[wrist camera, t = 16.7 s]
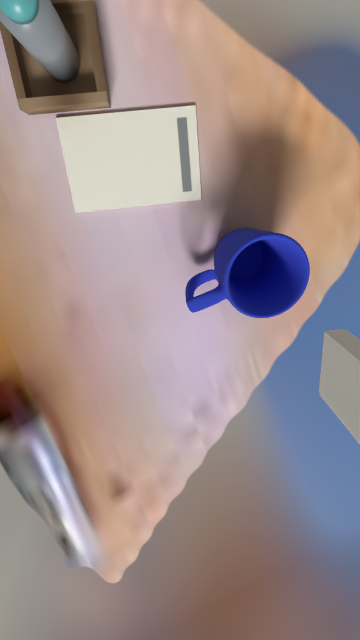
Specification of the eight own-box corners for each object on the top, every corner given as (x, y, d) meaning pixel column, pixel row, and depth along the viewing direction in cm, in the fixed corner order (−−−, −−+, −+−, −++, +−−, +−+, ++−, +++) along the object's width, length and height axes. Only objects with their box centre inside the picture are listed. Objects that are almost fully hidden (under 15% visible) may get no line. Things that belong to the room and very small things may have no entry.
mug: (166, 252, 39) (172, 273, 30) (261, 209, 38) (298, 218, 29) (192, 310, 42) (205, 346, 33) (280, 272, 41) (319, 298, 32)
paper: (75, 212, 36) (75, 212, 36) (56, 118, 33) (55, 117, 32) (201, 199, 37) (201, 199, 37) (195, 105, 33) (195, 105, 33)
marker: (49, 85, 31) (-5, 32, 20) (37, 41, 30) (-28, -42, 19) (84, 79, 31) (50, 22, 20) (74, 34, 30) (31, -53, 19)
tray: (29, 114, 32) (19, 109, 30) (5, 10, 29) (-9, -6, 27) (110, 107, 33) (107, 101, 30) (95, 3, 30) (90, -13, 27)
